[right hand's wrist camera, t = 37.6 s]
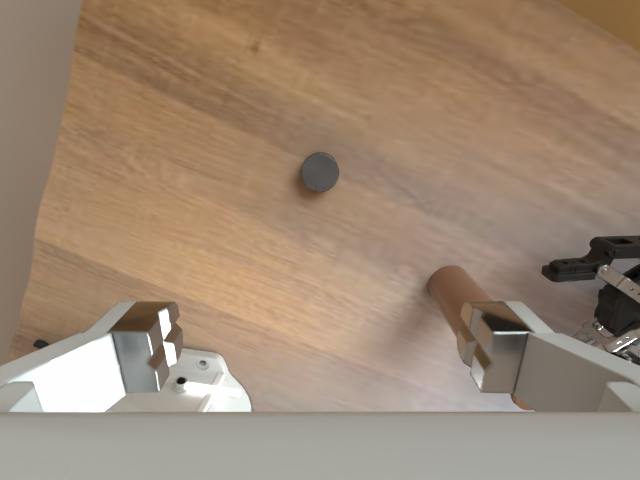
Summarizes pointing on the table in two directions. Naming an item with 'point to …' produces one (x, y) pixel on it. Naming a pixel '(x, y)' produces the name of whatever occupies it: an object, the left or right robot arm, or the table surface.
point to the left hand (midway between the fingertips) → (540, 313)
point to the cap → (320, 172)
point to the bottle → (458, 300)
